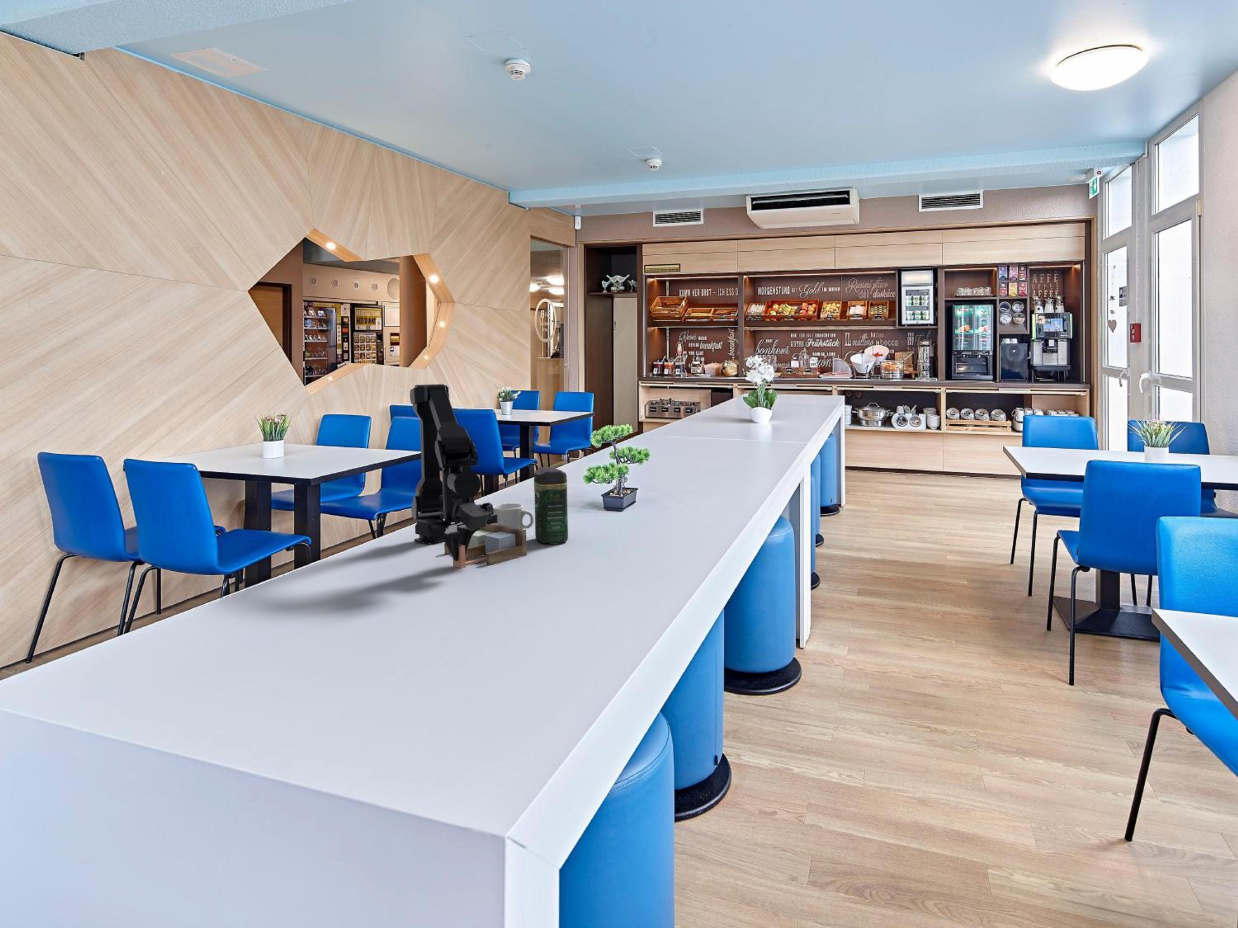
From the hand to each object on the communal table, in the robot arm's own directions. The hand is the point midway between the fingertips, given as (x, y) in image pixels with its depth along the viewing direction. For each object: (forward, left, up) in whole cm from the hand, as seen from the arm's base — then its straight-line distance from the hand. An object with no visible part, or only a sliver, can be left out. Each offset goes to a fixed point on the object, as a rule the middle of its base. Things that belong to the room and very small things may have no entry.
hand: (459, 559), depth 178 cm
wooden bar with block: (0, +7, -1) cm, 7 cm away
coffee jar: (-1, +30, -2) cm, 30 cm away
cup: (-12, +27, -2) cm, 30 cm away
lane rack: (-4, +10, -2) cm, 11 cm away
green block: (-8, +12, -2) cm, 14 cm away
